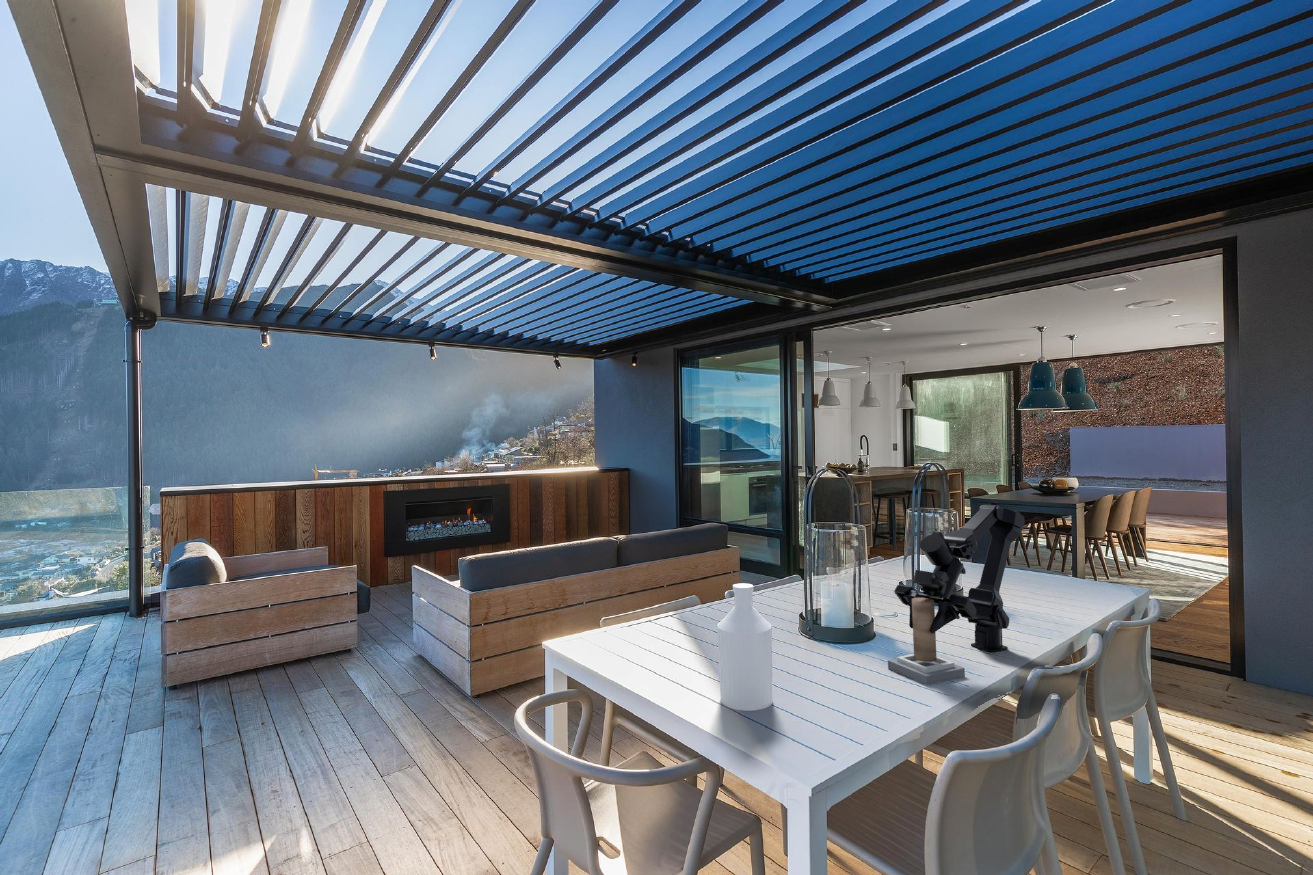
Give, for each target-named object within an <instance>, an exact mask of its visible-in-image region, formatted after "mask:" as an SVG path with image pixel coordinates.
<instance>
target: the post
mask: <svg viewBox="0 0 1313 875" xmlns="http://www.w3.org/2000/svg"><path fill="white" fill-rule="evenodd" d="M935 613H936V612H935V604H934V600H932V599H929V598H913V599H912V618H913V628H912V634H913V635H912V637H913V638H912V639H913V654H914V658H915V659H916V660H919V661H924V662H933V661H936V660H937V658H936V656H937V641H936V639H937V638H936V632H935V633H931V632H930V628H931V625H932V623H933V620H934V618H935V616H936V614H935Z"/></svg>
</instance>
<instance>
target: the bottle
mask: <svg viewBox="0 0 1313 875" xmlns="http://www.w3.org/2000/svg"><path fill="white" fill-rule="evenodd" d="M754 591H755V590H754V585H753V584H751V583H747V582H746V583H745V582H744V583H743V582H741V583H740V582H739V583H735V584H732V592H733V593H734V595H733V596H734V606H733V607H732V609H731V610H730V611H729V612H728V613H727V614H726V615H725V617H724V618H723V619H721V621H719V622H718V624H717V625H716V628H717V647H718V650H717V651H718V668H719V669H718V670H719V689H720V690H719V693H720V703H722V705H723V706H725V707H728V708H730V709H732V710H737V711H745V712H747V711H748V712H751V711H752V712H754V711H760V710H765V709H766V708H769V707H770V706H771V705H772V704H773V701H774V700H773V699H774V698H773V638H772V637H773V635H772V632H773V630H772V624H771V623H770V622H769V621H768V620H767V619H766V618H764V617H763V615H762V614H760V612H759V611H758V610H757V609H756V608H755V607H754V606H753V593H754Z"/></svg>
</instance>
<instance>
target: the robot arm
mask: <svg viewBox="0 0 1313 875" xmlns="http://www.w3.org/2000/svg"><path fill="white" fill-rule="evenodd" d="M1025 523H1026V521H1025V516H1024V515H1022V514H1021V513H1020V511H1018V510H1011V509H1007V508H1004V507H1003V506H1000V505H997V504H982V505H980V506H979V508H978V511H977V512H976V513H975V514H974V515H973V516H972V517H971V518H970V519H969V520H968V521H967V522H966V523H965V524H964V525H963V526H962V527H961V528H960V529H956V530H953V531H950V532H948V534H946V535H944V534H943V533H942V531H935V530H934V531H933V532H932V533H931V534H930V535H927V536H925V537H924V538H923V539H921V540H920V541H919V542H920V543H919V548H920V550H921V551H922V553H923V554H924V556H925V557H926V558H927V560H928V562H929V563H931V565H932V566H935V567H934V569H933V571H932V572H931V571H927V570H921V569H915V572H914V576H913V580H912V583H913V584H917V585H919V587H918V588H919V590H920V591H921V592H923V593H921V592H918V591H916V589H915V588H914V587H913V585H911V586H910V585H906V584H897V586H896V587H895V589H894V591H893V593H894V594H895V595H896V597H897V598H898V600H899V601H900V602H901V603H902V604H903V605H905V606H907V607H909V620H908V621H909V623H908V624H909V625H908V626H909V628H910V629H913V618H912V599H913V598H929V599H932V600H934V606H937V612H936V614H935V618H934V620H933V623H932V625H931V628H930V632H931V633H936V632H937V631H939V630H940V629H941V628H943V627H944V626H947V624H950V623H951V622H953V621H954V620H959V619H960V618H961V617H962V618H964V619H967V622H968V623H969V624H971V623H972V624H974V642H973V643H970V646H971V647H974V648H978V649H981V650H984V651H986V652H989V653H994V652H999V651H1003V650H1008V649H1009V647H1008V646H1006V645H1003V629H1005V630H1007V629H1008V627H1009V624H1010V617H1009V615H1007V612H1006V611H1005V610H1004V602H1003V598H1002V595H1001V594H1000V589H1001V585H1002V581H1003V577H1004V574H1005V569H1006V565H1007V560H1008V557H1009V554H1010V548H1011V545H1012V543H1014V541H1015V540H1017V539H1019V537H1020V535H1021V533H1022V530H1023V528H1024V526H1025ZM988 531H989V534H990V537H991V538H990V542H989V546H988V549H987V553H986V557H985V561H984V564H983V565H984V566H983V567H982V568H983V569H982V573H981V576H980V581H979V584H978V585H977V586H976V587H970V589H969V590H968V594H967V596H966V595H961V594H955V593H956V592H957V590H958V589H957V587H956V584H957V582H958V579H959V578H960V576H961V575H966V574H967V571H966V569H965V567H964V563H963V562H961V560H970V561H971V559H973V557H974V556H975V554H976V553H977V552H978V550H979V546H978V542H979V541H980V540H981V539H982V537H984V536H985V534H986V533H988ZM960 559H961V560H960Z"/></svg>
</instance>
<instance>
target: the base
mask: <svg viewBox="0 0 1313 875" xmlns="http://www.w3.org/2000/svg"><path fill="white" fill-rule="evenodd" d="M936 658H937V660H936V661H933V662H924V661H919V660H916V659H915V658H914V653H910V654H905V655H901V656H897V657H896V658H893V659H887V668H888V670H891V671H893V672H895V673H898V674H900V675H902V676H905V677H907V678H908V679H911V680H914V681H915V682H918V683H921V684H923V685H925V686H930V685H933V684H938V683H943V682H947V681H951V680H954V679H959V678H963V677H964V678H965V677H966V672H965V667H963V666H960V665H958V664H955V662H953V661H951V660H948V659H945V658H942V657H939V656H937V655H936Z"/></svg>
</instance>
